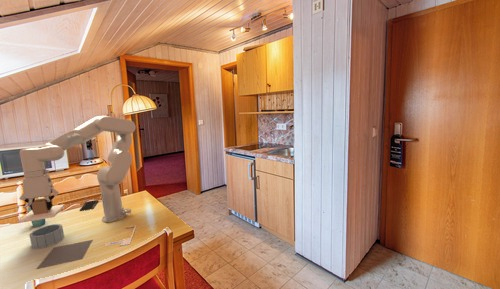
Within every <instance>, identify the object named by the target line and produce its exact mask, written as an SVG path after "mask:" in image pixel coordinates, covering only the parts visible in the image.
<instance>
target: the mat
mask: <svg viewBox="0 0 500 289" xmlns="http://www.w3.org/2000/svg"><path fill="white" fill-rule="evenodd" d="M93 241H94V239H90V240H85V241H80V242H74V243H70V244H69V243H68V244H65V245H60V246H54V247H53V248H52V249H51V250H50V252H49V253H48V254H47V255H46V257H44V259H43V260H42V261H41V263H39V265H38V266H37V267H36V270H40V269H43V268H50V267H52V266H58V265H63V264H65V263H72V262H76V261H80V260H83V259H84V257H85V255H86V253H87V251H88V249H89V248H90V246H91V244H92V243H93Z"/></svg>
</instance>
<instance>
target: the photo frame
mask: <svg viewBox="0 0 500 289" xmlns="http://www.w3.org/2000/svg"><path fill="white" fill-rule="evenodd" d="M130 228H133V230H132V233H131V235H130V237H128V238H124V239H121V240H116V241H113V242H106V243H105V245H104V247H109V246H113V245H114V246H115V245H118V244H119V246H118V247H125V246H129V245H131V243H132V240H133V237H134V234H135V231H136V229H137V225H131V226H127V227H125V229H130Z"/></svg>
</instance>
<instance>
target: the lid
mask: <svg viewBox="0 0 500 289" xmlns="http://www.w3.org/2000/svg"><path fill="white" fill-rule="evenodd" d="M46 202H47V200H46V198H45V197H41V198H35V201H34V202H32V203H31V204H32V209H33V211H32V210H31V211H30V212H29V213H28V212H27V213H26V214H24V215H23V216H22V217H21V218H20V219H18V220H17V221H18V224H21V223H29V222H31V221H34V220H40V219H45V220H46V219H52V218H55V217H56V216H57V215H58V214H59V213H60V212H61V211H62V210H63V209H64V208H65V207H66V204H57V205H53V206H52V208H51V209H50V210H48V209H47V204H46Z"/></svg>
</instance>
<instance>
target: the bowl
mask: <svg viewBox="0 0 500 289" xmlns="http://www.w3.org/2000/svg"><path fill="white" fill-rule="evenodd" d="M64 238H65V233H64V228H63V225H62V224H61V223H52V224H47V225H43V226H40V227H37V228H36V229H34V230H33V231H30V233H29V240H30V244H31V248H32V249H36V250H38V249H44V248H47V247H50V246H53V245H55V244H57V243H59V242H61V241H62V240H63V239H64Z"/></svg>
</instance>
